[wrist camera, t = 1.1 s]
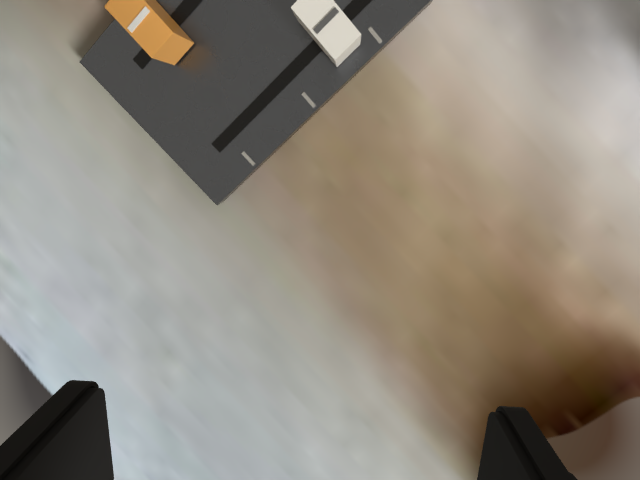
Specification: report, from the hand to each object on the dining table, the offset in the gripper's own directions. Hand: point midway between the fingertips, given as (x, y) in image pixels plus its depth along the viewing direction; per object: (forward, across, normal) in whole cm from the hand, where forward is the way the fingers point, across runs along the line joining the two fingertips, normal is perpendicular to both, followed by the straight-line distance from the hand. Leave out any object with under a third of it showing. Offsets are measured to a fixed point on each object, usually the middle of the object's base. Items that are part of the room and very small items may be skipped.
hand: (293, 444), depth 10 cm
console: (+29, +6, -14) cm, 33 cm away
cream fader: (+27, 0, -14) cm, 30 cm away
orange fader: (+27, +13, -14) cm, 33 cm away
